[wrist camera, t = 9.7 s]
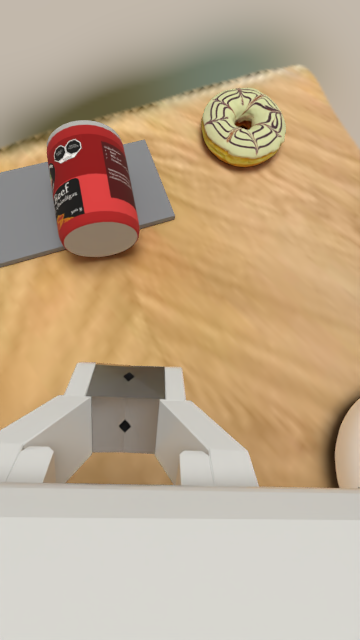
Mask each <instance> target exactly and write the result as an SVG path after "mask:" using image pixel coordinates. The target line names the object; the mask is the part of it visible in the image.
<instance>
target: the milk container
mask: <svg viewBox="0 0 360 640" xmlns="http://www.w3.org/2000/svg"><path fill="white" fill-rule="evenodd" d="M335 465H336V475H337V480H338V485H339V488H360V398H359V399H358V400H357V401H356V402H355V403H354V405H353V406H352V407H351V408H350V410H349V411H348V413H347V414H346V416H345V418H344V420H343V422H342V424H341V426H340V429H339V432H338V437H337V442H336V447H335Z"/></svg>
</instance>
